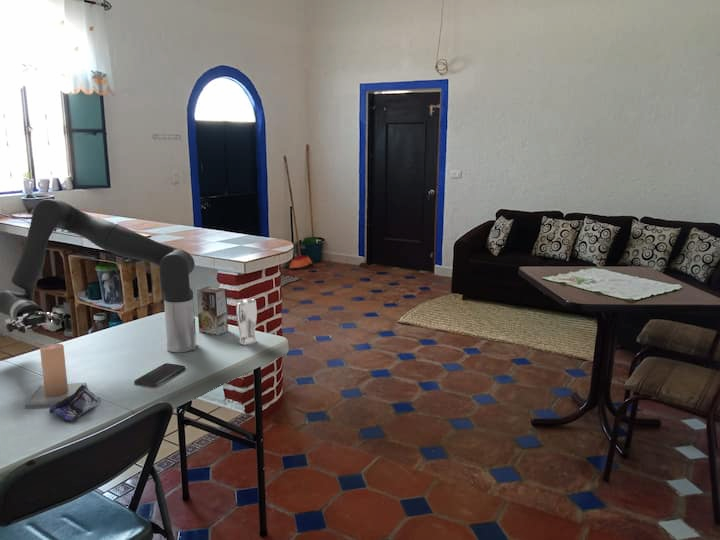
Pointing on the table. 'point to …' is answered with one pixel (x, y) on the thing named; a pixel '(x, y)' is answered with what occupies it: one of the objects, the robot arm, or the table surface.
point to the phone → (159, 375)
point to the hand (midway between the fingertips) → (41, 325)
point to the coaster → (43, 401)
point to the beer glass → (246, 320)
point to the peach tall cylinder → (54, 370)
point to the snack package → (75, 404)
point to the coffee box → (212, 310)
